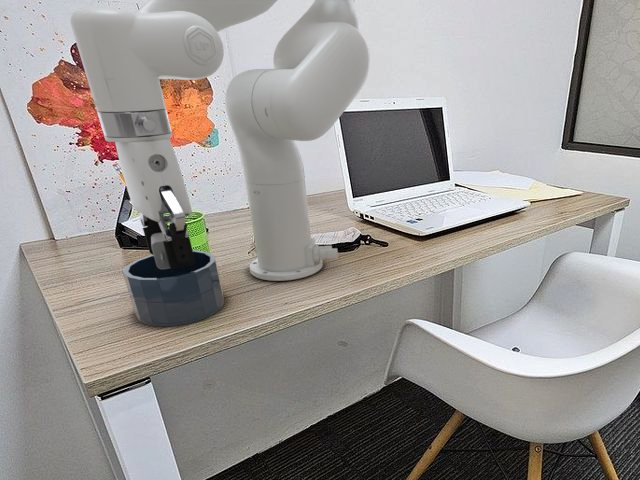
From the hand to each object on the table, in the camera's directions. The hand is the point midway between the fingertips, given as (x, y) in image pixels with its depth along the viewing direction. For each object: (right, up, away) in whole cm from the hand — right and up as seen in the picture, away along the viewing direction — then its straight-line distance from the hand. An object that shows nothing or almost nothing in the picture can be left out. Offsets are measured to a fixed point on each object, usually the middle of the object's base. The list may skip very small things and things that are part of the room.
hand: (172, 258), depth 67 cm
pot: (0, -7, +3) cm, 8 cm away
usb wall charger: (0, -1, 0) cm, 1 cm away
